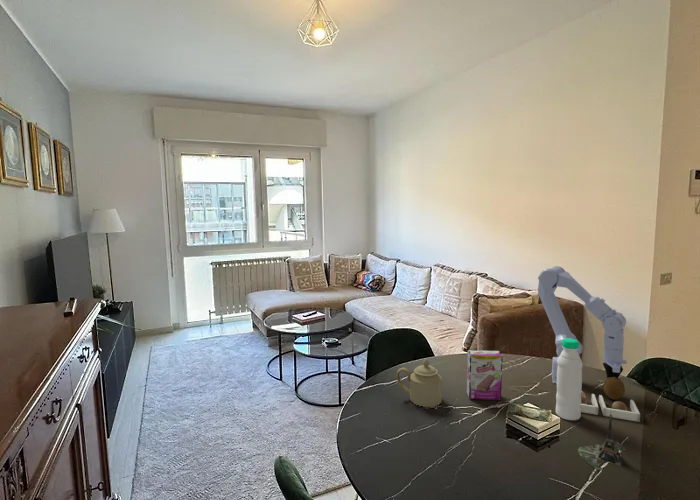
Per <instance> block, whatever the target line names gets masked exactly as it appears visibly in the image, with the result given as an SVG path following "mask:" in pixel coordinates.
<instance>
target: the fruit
mask: <svg viewBox="0 0 700 500" xmlns="http://www.w3.org/2000/svg"><path fill="white" fill-rule="evenodd" d="M602 388H603V391H604V394H605V396H606V397H607V398H609V399H611V400H613V401H618V400H621V399H622V398H623V397H624V395H625V392H626V388H625V385H624V382H623V381H622V380H621V379H620V378H619V377H618V378H616V377H608V378H607V377H606V379H605V380H604V382H603V386H602Z"/></svg>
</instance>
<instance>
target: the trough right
mask: <svg viewBox="0 0 700 500" xmlns="http://www.w3.org/2000/svg"><path fill="white" fill-rule="evenodd" d="M598 403H599V404H598V405H599V406H600V409H601V413H602V415H603V417H609V416H610V414H611V415H612V418H614V419H621V420H627V421H631V422H632V421H633V422H638V423H641V413H640V411H639V409H638V407H637V405H636V402H635V400H634V399H630V400H629V407H630V408H629V409H630V411H629V410H627V411H624V410H618V409H612V407H611V408H609V407H607V406H606V402H605V401H604V397H603V395H602V394H599V395H598ZM609 418H610V417H609Z"/></svg>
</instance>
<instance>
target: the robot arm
mask: <svg viewBox="0 0 700 500" xmlns="http://www.w3.org/2000/svg"><path fill="white" fill-rule="evenodd" d="M537 279H538V286H537V293H538V296H539V299H540V301H541V303H542V307H543V308H544V311H545V312H546V316H547V318H548V321H549V323H550V325H551V327H552V330H553V333H554V334H555V335H554V336H555V340H554V341H555V342H554V343H555V346H556V355H557V356H553V357H552V367H551V378H552V383H553V384H557V368H558V363H557V360H558V357H559V356H560V354H561V352H562V351H563V347H562V340H563V339H565V338H571V339H575V340H577V341H578V342H579V348H578V350H577V352H578V354H579V355H581V354H582V353H583V350H584V347H583V344H582V343H581V342H580V341H579V340H578V339H577V337H576V335H575V334H574V333H572V332H571V330H570V327H569V325H568V323H567V320H566V318H565V316H564V313H563V311H562V308H561V306H560V304H559V302H558V299H557V296H556V294H555V292H556V290H557V288H558V287H559V288H566V289H567V290H568V291H570V292H571V293H573V295H575V297H577V298H579V299H580V300H581V301H582V302H583V303H584V305H585V309H587V310H588V311H589V312H590V313H591V314H592V315H593V316H594V317H595V318H596V319H597V320H599V321H600V322H601V325H602V327H603V329H604V333H603V334H604V336H603V357H602V361H603V362H602V366H603V368H604V369H605V373H606V379H607V378H608V377H616V378H618V379H619V377H620V375H621V374H622V373H623V371H624V368H623V365H624V364H625V365H626V364H627V363H628V361H627V360H626V359H624V341H625V340H624V338H625V335H624V333H625V332H624V330H625V329H624V327H625V326H626V324H627V319H626V317H625V316H624V315H623V313H621V312H617V310H616V309H613V308H612V307H611V306H609V304H607V303H606V300H605V299H604V298H602V297H601V298H600V297H599V296H593V295H592V294H591V293H589V291H587V289H585V288H584V287H583V286H582V284H580V283H579V282H578V281H577V280H576V279H575V278H574V277H573V276H572V275H571V274H570V273H569V272H568V271H566V270H565V269H564V268H563V267H562V266H560V265H559V266H558V265H557V266H553V267H551V268H546V269H545V268H544V269H543V270H541V272H540V274H539V275H538V277H537Z"/></svg>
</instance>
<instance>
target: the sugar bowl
mask: <svg viewBox="0 0 700 500" xmlns="http://www.w3.org/2000/svg"><path fill="white" fill-rule="evenodd" d="M422 362H423V363H422V364H420V365H418V366H417V367H415V368H414V369H413V372H412V373H411V372H410V370H408V368H406V367H400V368H398V370H397V371H396V380H397V381H396V382H397V383H398V384H399V386H400V387H401V388H402V390H403V391H405V392H406V393H407V394H408V395H409V398H410V402H411V401H412V402H413V403H414V404H413V403H412V402H411V403H412V404H413V405H415V404H416V405H415V406H417V405H419V406H418V407H420V406H423V407H422V408H428V407H430V408H435V407H434V406H436V407H438V406H440V405H439V404H440V403H441V404H442V400H443V399H442V398H443V377H442V376H441V375H440V374H439V370H438V369H437V368H436V367H434V366H432V365H429V364H430V363H429V360H428V359H427V358H425V359H424V360H423V361H422ZM401 372H404V373H405V374H406V376H407V379H408V382H409V388H408V387H407V386H405V385H404V383H402V381H401V378H400V373H401ZM437 405H438V406H437Z"/></svg>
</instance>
